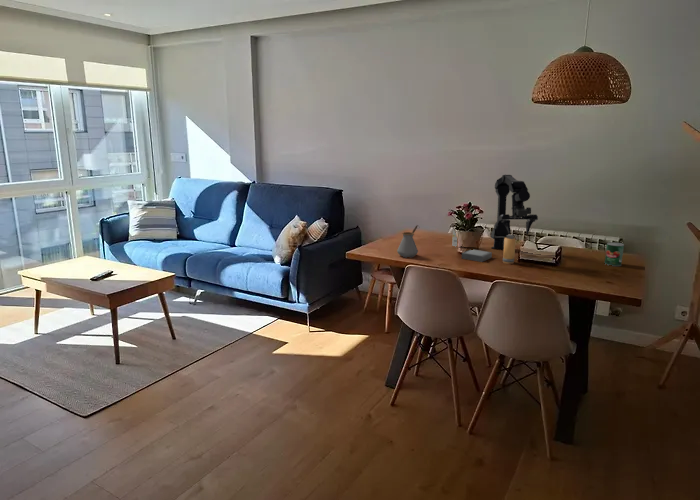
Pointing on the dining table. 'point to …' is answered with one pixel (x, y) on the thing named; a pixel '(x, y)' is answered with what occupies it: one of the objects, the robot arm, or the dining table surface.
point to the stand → (476, 255)
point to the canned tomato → (614, 253)
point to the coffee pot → (408, 245)
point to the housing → (509, 249)
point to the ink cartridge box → (454, 239)
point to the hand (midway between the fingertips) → (518, 234)
